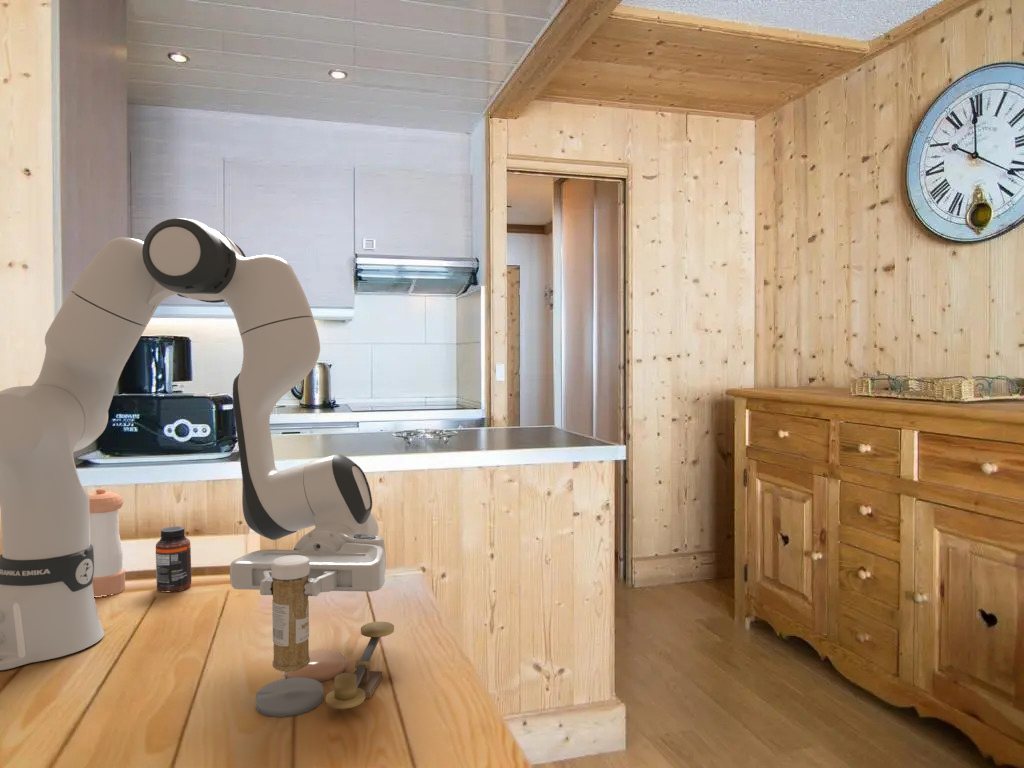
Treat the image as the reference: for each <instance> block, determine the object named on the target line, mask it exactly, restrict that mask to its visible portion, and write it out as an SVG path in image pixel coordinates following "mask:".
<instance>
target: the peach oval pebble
mask: <svg viewBox="0 0 1024 768" xmlns="http://www.w3.org/2000/svg"><path fill="white" fill-rule="evenodd" d="M309 658H310V661H309V663H308V665H307V666H305V667H304V668H302V669H299V670H296V671H289V672H284V675H285V677H286V678H285V679H287V678H297V677H301V678H310V679H314V680H317V681H319V682H320V683H322V682H326V681H330V680H332V679H334V678H335V676H337V675H339V674H342V673H344V671H345V670H346V656H345V655H344V654H343V653H341V652H339V651H337V650H332V649H314V650H309Z"/></svg>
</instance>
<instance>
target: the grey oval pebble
mask: <svg viewBox="0 0 1024 768" xmlns="http://www.w3.org/2000/svg"><path fill="white" fill-rule="evenodd" d="M323 699H324V685H323V684H322V682H319V681H317V680H314V679H310V678H301V677H297V678H282V679H279V680H275V681H272V682H270V683H268V684H266V685H264V686H262V687H261V688H260V689H258V691H257V692H256V694H255V709H256V710H257V711H258V713H260V714H262V715H264V716H268V717H274V718H285V717H286V718H287V717H292V716H297V715H301V714H304V713H308V712H310V711H312V710H314V709H316V708H317V707H318V706H319V705H320V704H321V703H322V702H323Z"/></svg>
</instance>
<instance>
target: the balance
mask: <svg viewBox="0 0 1024 768" xmlns="http://www.w3.org/2000/svg"><path fill="white" fill-rule="evenodd" d="M394 632H395V625H394V624H393V623H391V622H390V621H389V622H387V621H372V622H368V623H365V624H363V625H362V626H361V627H360V634H361V635H362V636H364V637H367V638H370V639H369V641H368V643H367V645H366V647H365V649H364V652H363V653H362V656H361V658H360V660H359V661H357V660H356V661H355V662H354V663H355V665H354V669H355V671H353V672H343V673H341V674H339V675H337V676H335V678H333V679H334V680H333V681H334V689H333V690H331V691H329V692H327V694H326V696H325V703H326V705H327V706H328V707H330V708H332V709H338V710H339V709H340V710H344V709H345V710H347V709H351V708H354V707H358V706H359V705H361V704H362V703H364V701H366V699H371V698H372V696H373V694H374V692H375V691H376V689H377V687H378V686H379V684H380V683H381V681H382V679H383V671H381V670H380V671H375V670H373V671H372V670H371V658H372V657H373V654H374V652H375V650H376V648H377V645H378V643H379V641H380V639H381V638H383V637H387V636H389V635H392V634H393V633H394Z"/></svg>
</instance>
